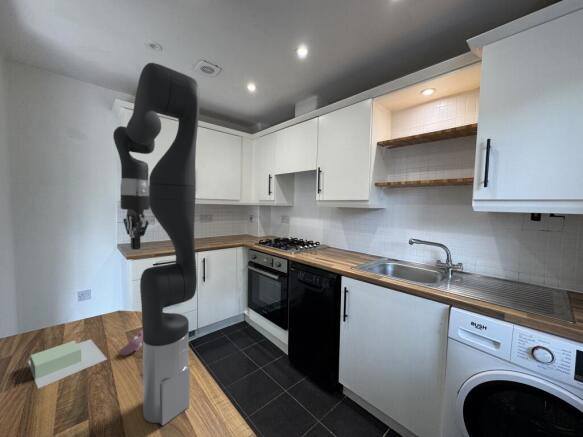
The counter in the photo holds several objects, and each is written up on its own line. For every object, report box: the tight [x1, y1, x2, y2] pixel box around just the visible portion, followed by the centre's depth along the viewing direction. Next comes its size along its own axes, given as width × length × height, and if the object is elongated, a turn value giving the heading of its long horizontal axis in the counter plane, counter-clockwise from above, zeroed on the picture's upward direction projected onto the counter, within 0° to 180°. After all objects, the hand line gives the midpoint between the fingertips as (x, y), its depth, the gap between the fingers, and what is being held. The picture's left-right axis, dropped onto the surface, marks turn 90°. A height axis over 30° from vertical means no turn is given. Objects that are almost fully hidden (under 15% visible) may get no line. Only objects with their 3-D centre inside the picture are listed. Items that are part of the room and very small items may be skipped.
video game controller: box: [119, 328, 143, 356], centre depth 75 cm, size 10×5×7 cm, turn 0°
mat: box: [27, 339, 108, 389], centre depth 68 cm, size 16×14×1 cm
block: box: [29, 340, 81, 380], centre depth 66 cm, size 7×4×9 cm
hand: (135, 249), depth 74 cm, fingers closed
